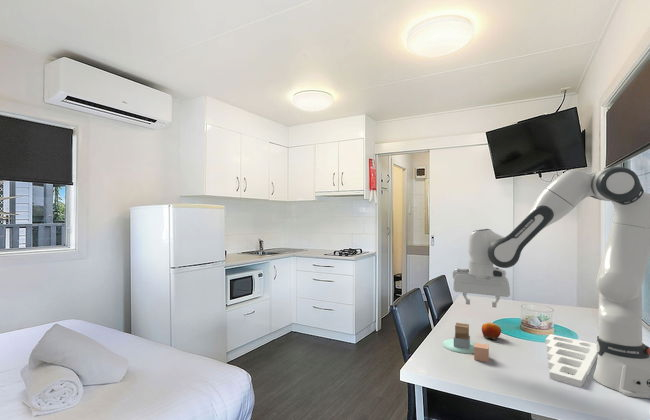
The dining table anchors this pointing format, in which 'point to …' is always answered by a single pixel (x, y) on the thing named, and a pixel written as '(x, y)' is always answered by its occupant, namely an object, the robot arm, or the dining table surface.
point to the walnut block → (462, 331)
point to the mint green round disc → (459, 345)
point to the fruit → (491, 330)
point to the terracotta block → (481, 352)
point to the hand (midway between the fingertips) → (480, 305)
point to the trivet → (570, 359)
